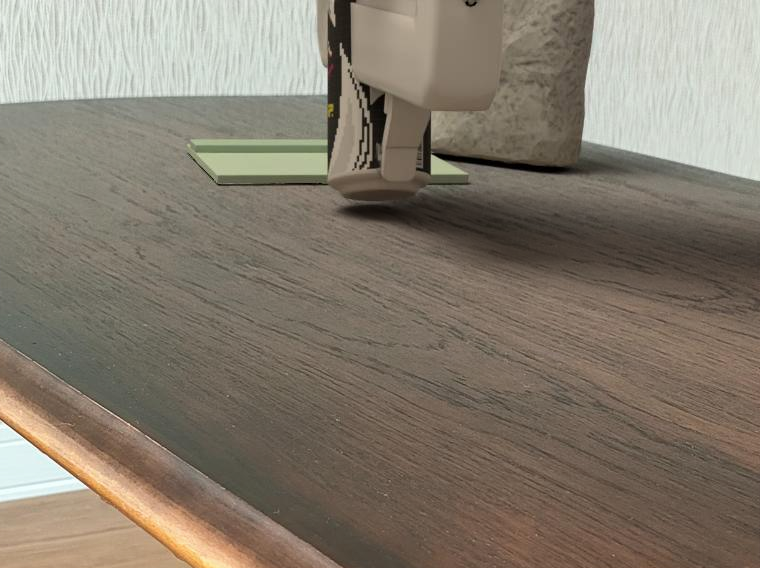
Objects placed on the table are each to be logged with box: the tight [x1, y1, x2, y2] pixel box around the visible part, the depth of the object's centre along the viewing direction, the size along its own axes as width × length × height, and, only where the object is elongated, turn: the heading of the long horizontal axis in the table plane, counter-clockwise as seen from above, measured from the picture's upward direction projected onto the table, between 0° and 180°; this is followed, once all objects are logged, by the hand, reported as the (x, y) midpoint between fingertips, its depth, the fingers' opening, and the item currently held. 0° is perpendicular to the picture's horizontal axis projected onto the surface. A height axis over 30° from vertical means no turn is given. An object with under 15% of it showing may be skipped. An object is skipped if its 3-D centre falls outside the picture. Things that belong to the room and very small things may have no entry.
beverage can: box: [326, 0, 432, 202], centre depth 80 cm, size 6×6×12 cm
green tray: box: [186, 138, 470, 185], centre depth 94 cm, size 16×12×1 cm
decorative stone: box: [431, 0, 596, 168], centre depth 96 cm, size 11×6×15 cm, turn 46°
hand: (390, 176), depth 78 cm, fingers closed, pressing on beverage can
